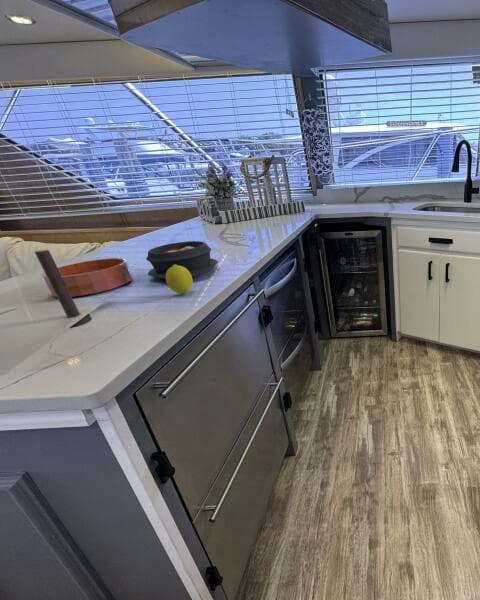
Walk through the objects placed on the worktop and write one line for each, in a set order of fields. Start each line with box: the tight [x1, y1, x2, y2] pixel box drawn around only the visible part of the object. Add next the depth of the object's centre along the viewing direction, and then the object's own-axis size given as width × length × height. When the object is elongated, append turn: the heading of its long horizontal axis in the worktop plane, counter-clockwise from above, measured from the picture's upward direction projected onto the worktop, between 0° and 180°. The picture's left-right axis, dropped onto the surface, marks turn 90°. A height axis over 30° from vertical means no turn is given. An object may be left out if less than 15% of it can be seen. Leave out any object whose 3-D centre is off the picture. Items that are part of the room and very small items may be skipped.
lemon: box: [165, 265, 194, 295], centre depth 81 cm, size 6×6×8 cm
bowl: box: [41, 257, 133, 298], centre depth 90 cm, size 17×17×6 cm
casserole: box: [145, 240, 219, 280], centre depth 99 cm, size 25×19×8 cm
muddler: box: [34, 249, 93, 329], centre depth 66 cm, size 5×5×16 cm
